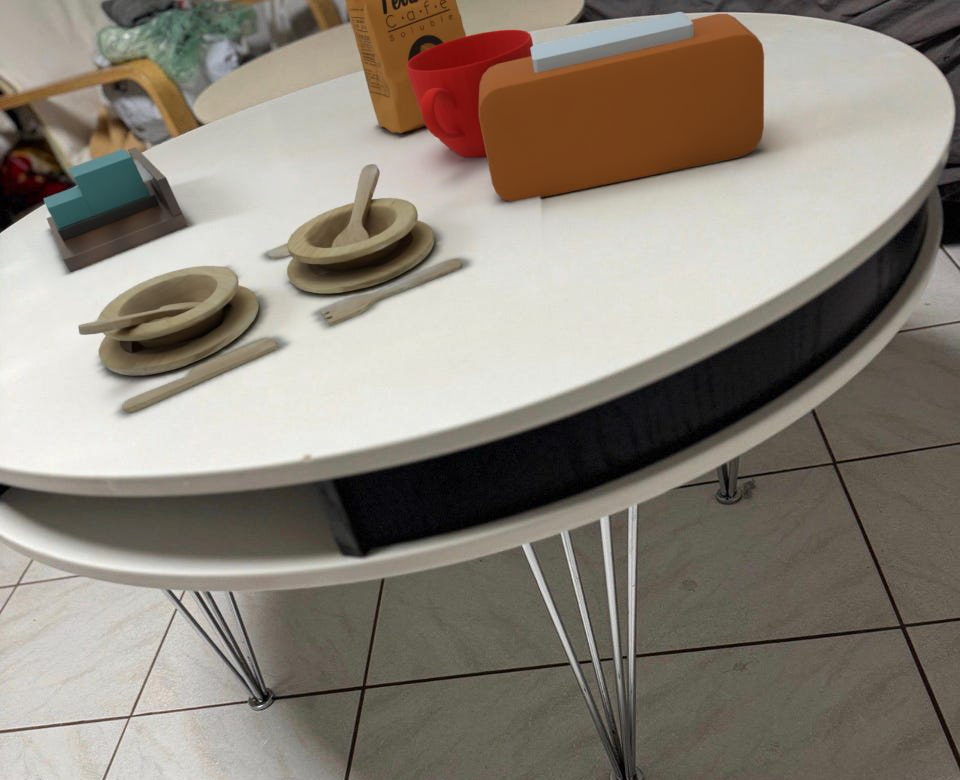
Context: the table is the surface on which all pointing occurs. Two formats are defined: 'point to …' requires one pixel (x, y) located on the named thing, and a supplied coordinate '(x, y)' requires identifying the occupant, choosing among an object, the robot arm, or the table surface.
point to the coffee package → (399, 50)
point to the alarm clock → (622, 104)
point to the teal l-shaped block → (100, 195)
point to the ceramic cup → (461, 84)
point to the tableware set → (232, 308)
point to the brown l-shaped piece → (125, 223)
